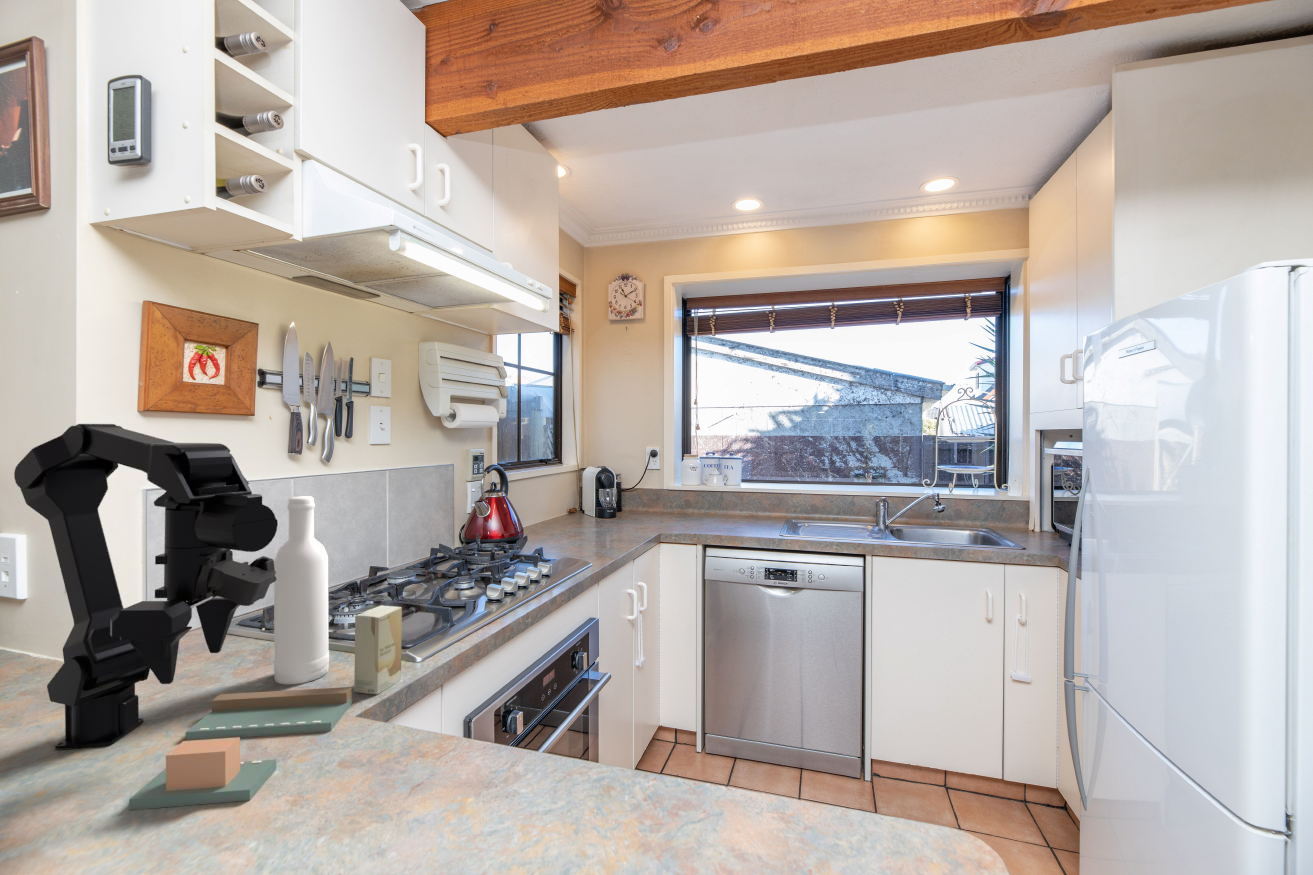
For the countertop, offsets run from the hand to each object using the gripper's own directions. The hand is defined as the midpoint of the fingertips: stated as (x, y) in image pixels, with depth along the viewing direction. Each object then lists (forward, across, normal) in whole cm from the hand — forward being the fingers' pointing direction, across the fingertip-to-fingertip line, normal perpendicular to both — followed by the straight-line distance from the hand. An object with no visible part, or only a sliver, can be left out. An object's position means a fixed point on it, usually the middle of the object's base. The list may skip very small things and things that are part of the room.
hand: (192, 666), depth 73 cm
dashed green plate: (+12, +8, -6) cm, 15 cm away
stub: (+11, -7, -6) cm, 15 cm away
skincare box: (+12, +19, -16) cm, 28 cm away
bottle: (+12, +24, -2) cm, 27 cm away
